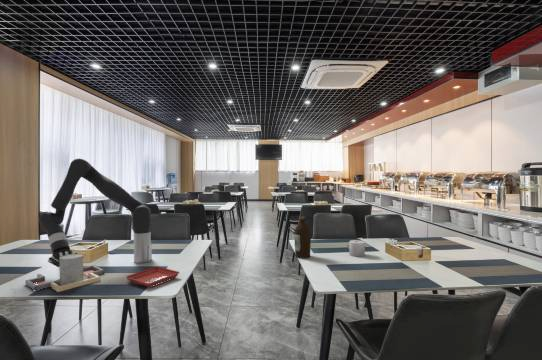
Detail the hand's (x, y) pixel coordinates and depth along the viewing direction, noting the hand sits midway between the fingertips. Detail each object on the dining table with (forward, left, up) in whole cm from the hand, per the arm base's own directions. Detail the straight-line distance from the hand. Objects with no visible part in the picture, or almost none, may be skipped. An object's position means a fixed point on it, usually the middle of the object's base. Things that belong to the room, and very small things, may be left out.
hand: (67, 271), depth 144 cm
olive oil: (-125, -23, -4) cm, 127 cm away
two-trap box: (0, 0, -4) cm, 4 cm away
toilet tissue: (-160, -23, -4) cm, 162 cm away
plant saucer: (-42, +7, -4) cm, 43 cm away
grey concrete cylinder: (-4, +4, -4) cm, 7 cm away
